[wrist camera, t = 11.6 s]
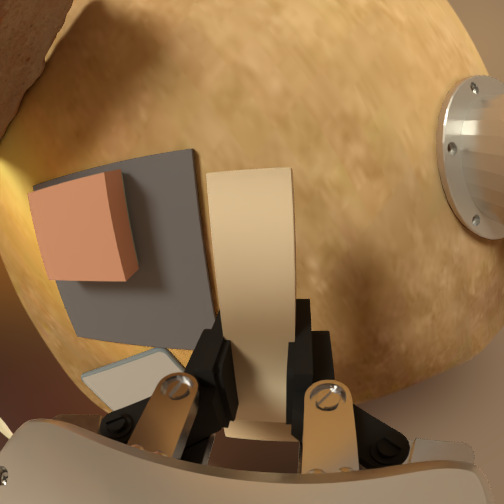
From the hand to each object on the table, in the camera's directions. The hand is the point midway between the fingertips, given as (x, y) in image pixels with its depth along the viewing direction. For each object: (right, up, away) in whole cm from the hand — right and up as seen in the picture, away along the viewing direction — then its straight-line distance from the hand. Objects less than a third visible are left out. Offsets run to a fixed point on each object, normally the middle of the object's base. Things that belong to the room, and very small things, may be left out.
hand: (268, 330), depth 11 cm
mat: (-11, +2, +8) cm, 14 cm away
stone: (-20, +18, +3) cm, 27 cm away
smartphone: (-13, -11, +14) cm, 22 cm away
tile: (-9, +5, +5) cm, 11 cm away
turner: (0, -1, +1) cm, 1 cm away
